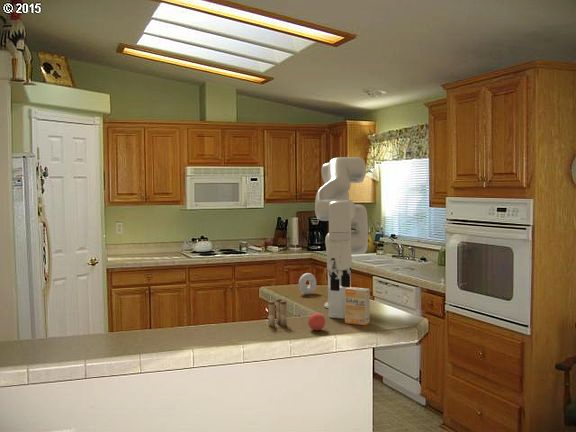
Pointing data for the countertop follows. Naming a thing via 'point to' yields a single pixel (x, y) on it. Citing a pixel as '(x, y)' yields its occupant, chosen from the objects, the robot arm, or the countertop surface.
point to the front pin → (283, 313)
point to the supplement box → (357, 306)
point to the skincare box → (336, 303)
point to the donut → (303, 283)
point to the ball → (316, 321)
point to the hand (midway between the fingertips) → (340, 288)
